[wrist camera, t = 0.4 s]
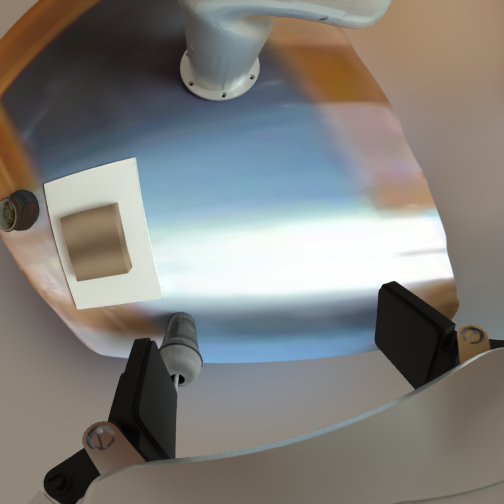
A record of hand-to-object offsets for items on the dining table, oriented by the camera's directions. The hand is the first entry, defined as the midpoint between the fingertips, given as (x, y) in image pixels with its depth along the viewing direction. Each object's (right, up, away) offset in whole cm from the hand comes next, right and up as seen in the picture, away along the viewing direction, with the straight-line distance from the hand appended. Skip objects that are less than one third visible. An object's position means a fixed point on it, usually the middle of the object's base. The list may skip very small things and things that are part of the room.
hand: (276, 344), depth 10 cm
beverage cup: (-14, -9, +39) cm, 42 cm away
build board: (-27, +6, +32) cm, 42 cm away
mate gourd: (-42, +12, +27) cm, 51 cm away
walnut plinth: (-27, +5, +31) cm, 41 cm away
